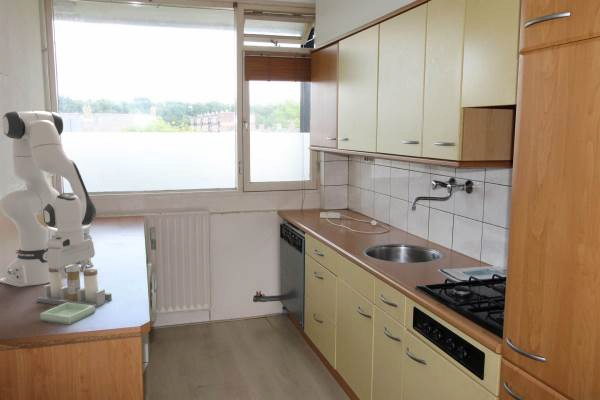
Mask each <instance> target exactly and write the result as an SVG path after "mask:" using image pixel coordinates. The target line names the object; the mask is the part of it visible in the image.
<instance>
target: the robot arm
mask: <svg viewBox="0 0 600 400" xmlns="http://www.w3.org/2000/svg"><path fill="white" fill-rule="evenodd" d="M1 120H2V121H1V127H2V131H3V133H4V135H5V137H7V138H10V139H13V141H12V142H13V143H12V158H13V172H14V175H15V177H16V178H18V179H19V180H21V181H23V182H24V184H25V187H26V189H23V190H22V189H21V190H15V191H14V190H13V191H12V192H9V193H7V194H4V195H3V196H2V197H1V198H0V211H1V213H3V215H4V216H5V217H6V218H9V219H10V220H11V222H13V223H14V225H15V227H16V230H17V232H18V239H19V241H18V242H19V248H20V249H18V250H16V251H15V254H17V256H16V258H15V259H14V260H13V261H12V262H11V263H10V264H8V265H7V266H6V268H5V276H4V277H2V278H0V283H2V284H7V285H10V286H14V287H18V288H21V287H28V286H29V287H30V286H37V285H44V284H48V283H50V278H49V268H50V269H58V271H59V273H60V274H61V279H63V280H65V279H67V278H68V276H67V275H68V274H67V273H66V266H69V265H71V264H74V263H77V262H80V261H81V262H82V264H81V265H80V266H79V273H83V271H85V270H87V266H88V265H87V263H88V259H89V258H91V259H92V258H94V257H95V255H96V254H95V253H96V252H95V246H94V242H93V240H92V238H93V237H92V235H90V233H89V234H85V235H84V233H83V227H84V226H87V225H90V224H92V222H94V220H95V218H96V217H97V210H96V206H95V204H94V202H93V200H92V199H91V197H90V195H89V192H88V190H87V188H86V185H85V182H84V180H83V178H82V175H81V173H80V170H79V169H78V166H77V164H76V163H75V161H74V160H72V159H70V158H69V157H68V156H67V155H66V153H65V151H64V149H63V144H62V140H61V137H60V135H62V133H63V132H64V131H63V130H64V121H63V118H62V116H61V115H60V114H59V113H57V112H55V111H54V112H53V111H44V110H42V111H41V110H28V111H27V110H25V111H9V112H6V113H5V114H4V115H3V116H2V119H1ZM46 173H49V174H53V175H57V176H60V177H62V178H64V179H66V181H67V182H68V183H69V185H70V188H71V191H72V193H63V194H60V192H59V191H58V190H57V189H55V188H54V187H53V186H52V185H51V183H50V182H49V180H48V177H47V174H46ZM38 215H43V221H44V223H45V224H46V225H47V226H48V227H52V228H58V229H57V235H55V236H54V237H53V238H52V239H50V234H49V231H48V229H47V226H45V225H44V224H41V223H40V222H39V219H38V217H37V216H38Z"/></svg>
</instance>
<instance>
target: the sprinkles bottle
mask: <svg viewBox="0 0 600 400" xmlns="http://www.w3.org/2000/svg"><path fill="white" fill-rule="evenodd" d="M79 268H80V265H68V266H65V273H67V274H68V275H67V276H68V278H66V284H67V285H66V286H67V287H68V300H71V301H78V297H77V290H79V289H81V279H80V269H79Z"/></svg>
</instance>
